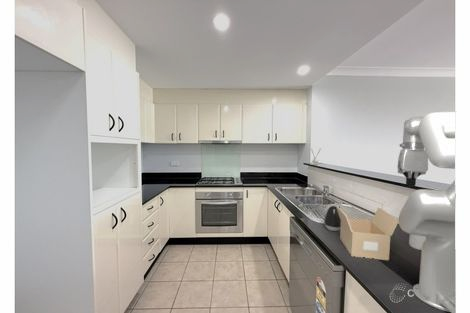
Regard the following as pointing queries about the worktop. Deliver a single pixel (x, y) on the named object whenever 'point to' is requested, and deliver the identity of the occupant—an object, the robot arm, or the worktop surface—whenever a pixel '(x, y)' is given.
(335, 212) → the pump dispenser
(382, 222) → the right flap
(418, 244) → the milk bottle
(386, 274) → the worktop surface
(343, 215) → the left flap
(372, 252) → the carton
